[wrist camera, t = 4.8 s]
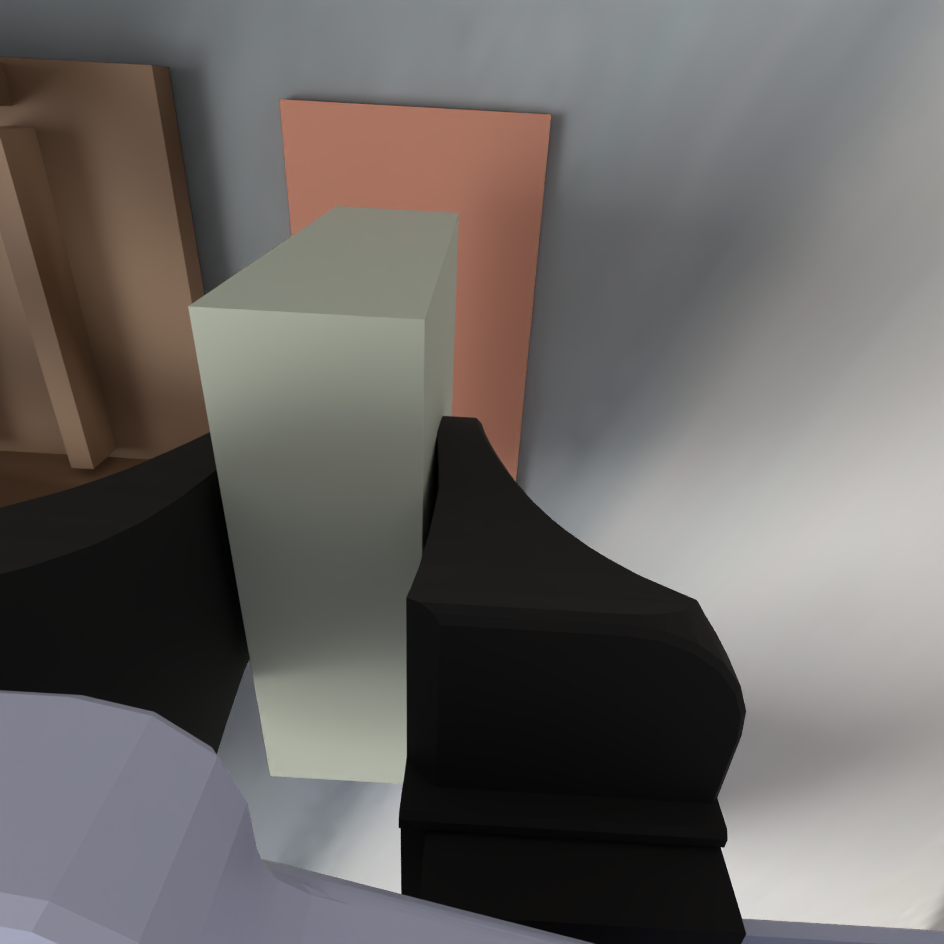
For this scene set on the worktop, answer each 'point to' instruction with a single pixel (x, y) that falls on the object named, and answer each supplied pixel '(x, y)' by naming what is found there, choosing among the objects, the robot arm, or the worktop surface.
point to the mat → (443, 190)
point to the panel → (332, 471)
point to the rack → (92, 275)
